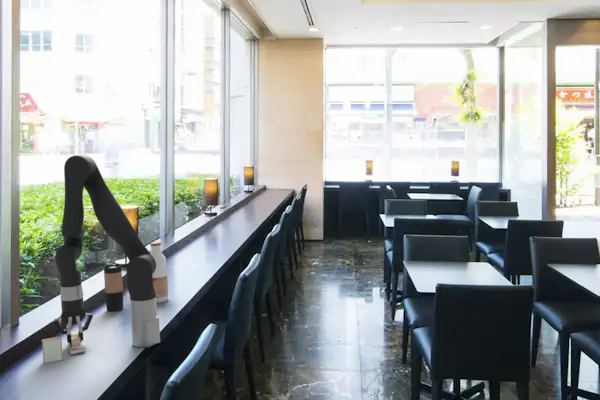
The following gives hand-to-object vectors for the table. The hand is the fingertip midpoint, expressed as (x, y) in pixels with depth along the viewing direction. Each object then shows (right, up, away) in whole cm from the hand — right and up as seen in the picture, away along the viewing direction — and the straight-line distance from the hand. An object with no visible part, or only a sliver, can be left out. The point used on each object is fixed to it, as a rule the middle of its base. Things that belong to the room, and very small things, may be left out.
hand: (75, 342), depth 199 cm
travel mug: (-1, +3, +45) cm, 45 cm away
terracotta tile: (-2, -3, -14) cm, 15 cm away
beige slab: (+1, -1, -2) cm, 2 cm away
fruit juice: (+15, +4, +59) cm, 61 cm away
